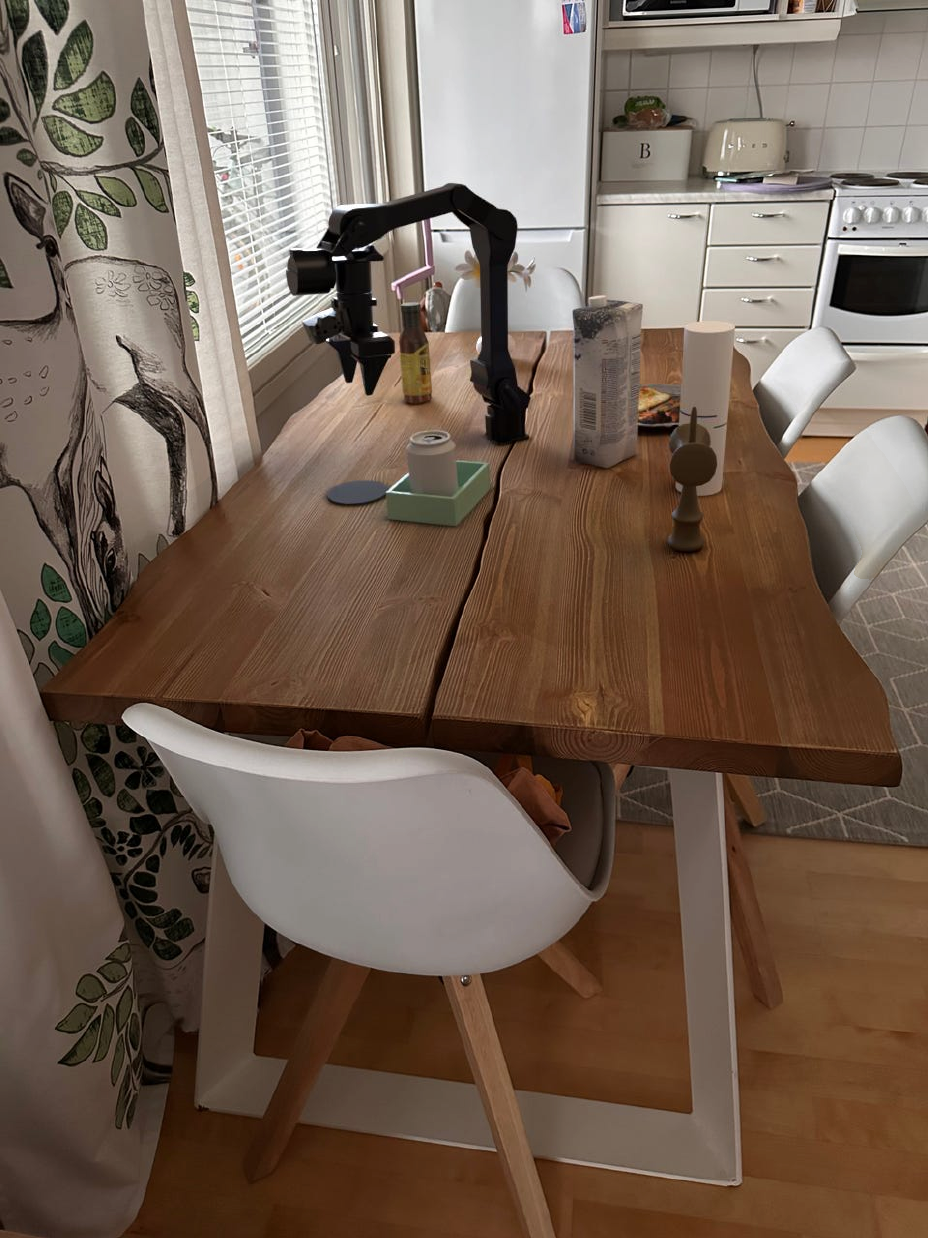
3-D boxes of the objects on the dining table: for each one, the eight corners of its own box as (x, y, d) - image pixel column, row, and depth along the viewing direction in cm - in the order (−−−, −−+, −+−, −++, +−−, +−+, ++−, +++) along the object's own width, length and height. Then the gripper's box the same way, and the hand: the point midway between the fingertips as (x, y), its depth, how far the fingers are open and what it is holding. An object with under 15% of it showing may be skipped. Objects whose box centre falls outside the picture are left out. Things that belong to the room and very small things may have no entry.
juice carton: (643, 454, 162) (650, 293, 148) (608, 472, 155) (611, 306, 142) (601, 444, 167) (604, 288, 154) (566, 461, 161) (565, 300, 147)
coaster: (377, 478, 159) (376, 476, 159) (395, 497, 151) (395, 495, 151) (320, 489, 156) (320, 487, 156) (336, 510, 148) (336, 508, 148)
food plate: (659, 444, 165) (660, 425, 164) (564, 418, 181) (564, 401, 179) (741, 410, 179) (743, 392, 177) (646, 389, 195) (647, 372, 193)
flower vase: (537, 365, 216) (535, 251, 203) (458, 368, 217) (452, 255, 205) (537, 351, 227) (535, 242, 215) (462, 354, 229) (456, 246, 216)
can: (467, 502, 148) (462, 429, 142) (446, 521, 142) (441, 446, 136) (425, 497, 151) (419, 425, 145) (403, 515, 145) (396, 441, 139)
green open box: (427, 482, 156) (425, 457, 154) (490, 488, 152) (489, 462, 150) (388, 519, 144) (385, 492, 142) (456, 526, 140) (454, 498, 138)
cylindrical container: (670, 480, 150) (678, 323, 138) (713, 476, 151) (725, 319, 138) (682, 497, 144) (692, 334, 132) (727, 493, 145) (742, 330, 132)
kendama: (664, 561, 126) (672, 418, 116) (662, 531, 134) (669, 395, 124) (710, 562, 125) (721, 417, 115) (705, 532, 133) (715, 394, 123)
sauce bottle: (429, 404, 194) (421, 307, 184) (400, 404, 195) (391, 307, 186) (436, 395, 200) (428, 300, 190) (408, 395, 201) (399, 300, 191)
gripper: (287, 286, 153) (295, 381, 160) (326, 304, 138) (332, 407, 145) (351, 282, 157) (355, 375, 164) (395, 299, 142) (397, 399, 150)
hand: (358, 388), depth 156 cm, fingers open, 9 cm apart
